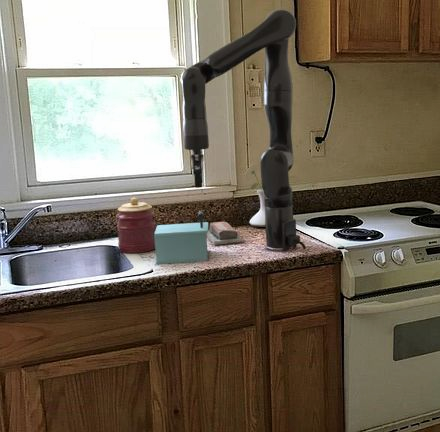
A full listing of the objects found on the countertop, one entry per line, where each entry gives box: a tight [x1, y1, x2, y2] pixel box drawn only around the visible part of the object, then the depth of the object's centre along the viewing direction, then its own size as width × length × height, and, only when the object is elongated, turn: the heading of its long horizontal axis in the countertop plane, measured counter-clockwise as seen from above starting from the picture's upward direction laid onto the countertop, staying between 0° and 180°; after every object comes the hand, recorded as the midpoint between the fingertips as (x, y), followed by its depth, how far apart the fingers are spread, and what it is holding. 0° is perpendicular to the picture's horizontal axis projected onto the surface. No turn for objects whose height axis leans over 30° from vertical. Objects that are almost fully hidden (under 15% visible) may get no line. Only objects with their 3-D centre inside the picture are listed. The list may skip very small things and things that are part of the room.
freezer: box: [154, 233, 208, 265], centre depth 203 cm, size 16×13×9 cm
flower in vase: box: [243, 161, 266, 228], centre depth 243 cm, size 13×11×25 cm
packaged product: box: [206, 221, 243, 246], centre depth 226 cm, size 18×5×10 cm
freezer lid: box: [154, 210, 209, 236], centre depth 202 cm, size 16×13×5 cm
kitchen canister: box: [115, 197, 157, 254], centre depth 216 cm, size 13×13×18 cm
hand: (198, 185), depth 200 cm, fingers open, 8 cm apart
